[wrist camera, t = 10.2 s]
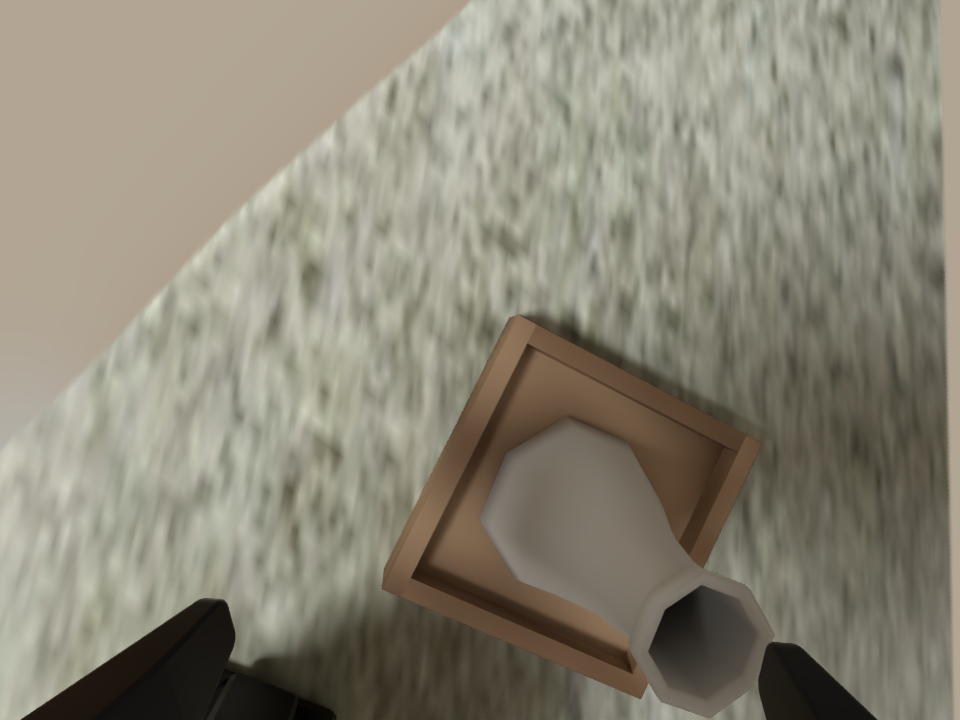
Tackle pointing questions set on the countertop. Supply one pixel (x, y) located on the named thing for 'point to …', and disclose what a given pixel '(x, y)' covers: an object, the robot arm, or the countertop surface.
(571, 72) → the countertop surface
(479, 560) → the walnut tray
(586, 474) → the flask
